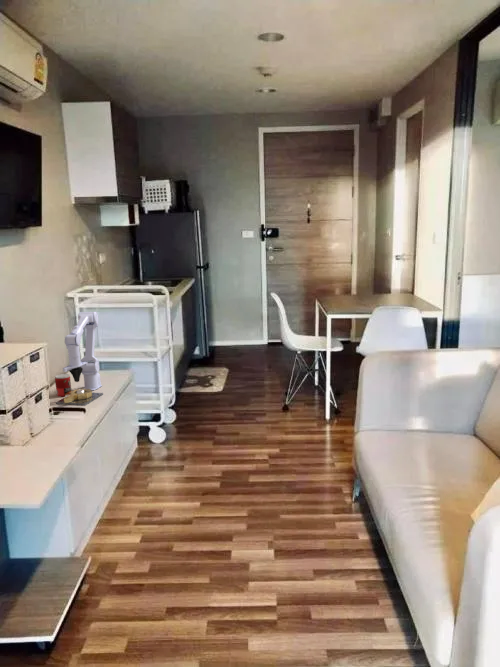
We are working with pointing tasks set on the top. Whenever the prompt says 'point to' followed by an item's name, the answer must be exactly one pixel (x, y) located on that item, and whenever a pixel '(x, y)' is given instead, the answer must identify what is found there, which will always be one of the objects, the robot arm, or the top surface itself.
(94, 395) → the flange plate
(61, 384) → the canned food
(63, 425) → the top surface
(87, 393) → the handled octagonal ring
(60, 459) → the top surface
